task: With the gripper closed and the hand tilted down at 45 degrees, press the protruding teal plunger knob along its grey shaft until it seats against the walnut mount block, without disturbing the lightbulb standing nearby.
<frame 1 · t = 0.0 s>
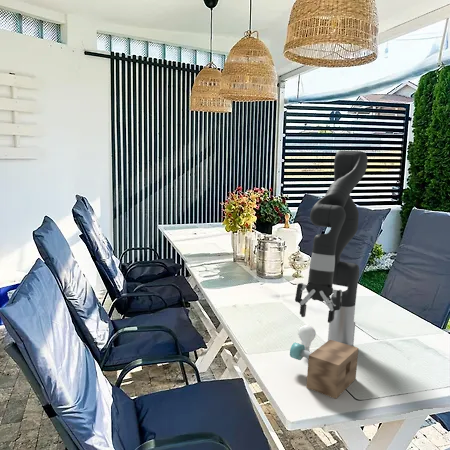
hand: (316, 319, 139), 22 cm above the table, tool pointing down, fingers open, 8 cm apart
lightbulb: (305, 353, 166), on the table
mount: (312, 376, 149), on the table
knob: (313, 356, 148), point 7 cm above the table, slide at 0.0 cm
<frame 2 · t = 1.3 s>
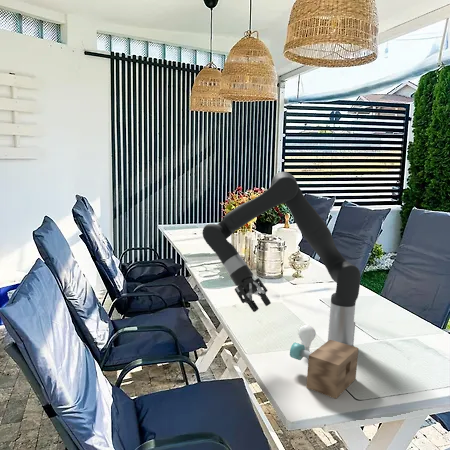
hand: (262, 307, 158), 19 cm above the table, tool tilted 45°, fingers open, 8 cm apart
nothing on the table moved.
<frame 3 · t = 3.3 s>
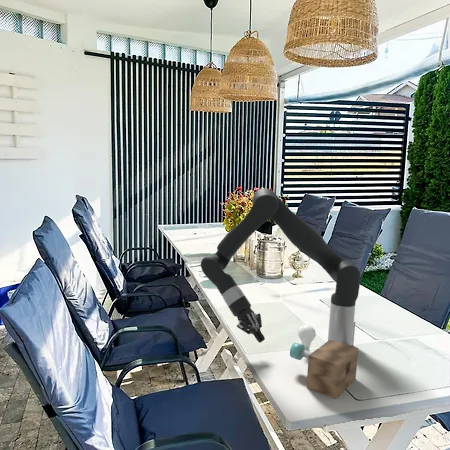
hand: (262, 341, 160), 6 cm above the table, tool tilted 45°, fingers closed
nothing on the table moved.
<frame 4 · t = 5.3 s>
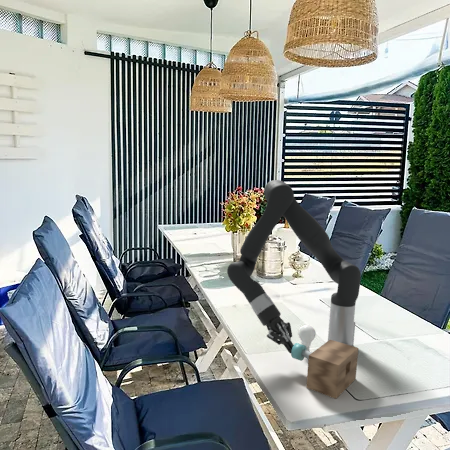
hand: (293, 351, 152), 6 cm above the table, tool tilted 45°, fingers closed
knob: (315, 357, 148), point 7 cm above the table, slide at 0.6 cm, touching gripper
everything else where it was.
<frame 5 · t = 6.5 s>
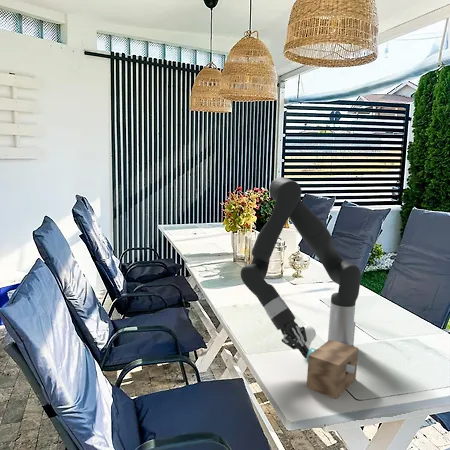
hand: (308, 356, 149), 6 cm above the table, tool tilted 45°, fingers closed
knob: (331, 362, 144), point 7 cm above the table, slide at 6.3 cm, touching gripper
everything else where it was.
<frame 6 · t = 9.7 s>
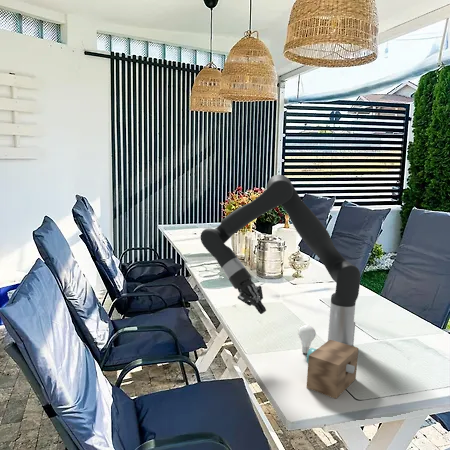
hand: (263, 312, 158), 17 cm above the table, tool tilted 45°, fingers closed
knob: (331, 362, 144), point 7 cm above the table, slide at 6.2 cm
everything else where it was.
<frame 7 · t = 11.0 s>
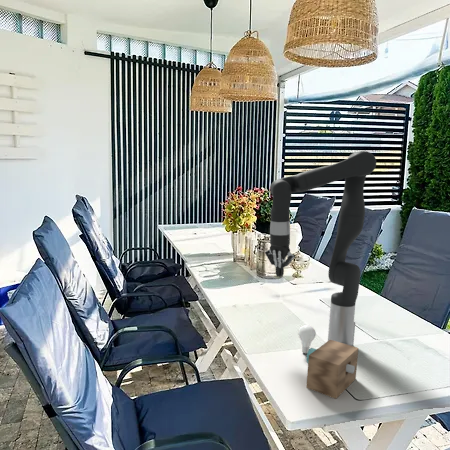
hand: (279, 276, 172), 26 cm above the table, tool pointing down, fingers closed
nothing on the table moved.
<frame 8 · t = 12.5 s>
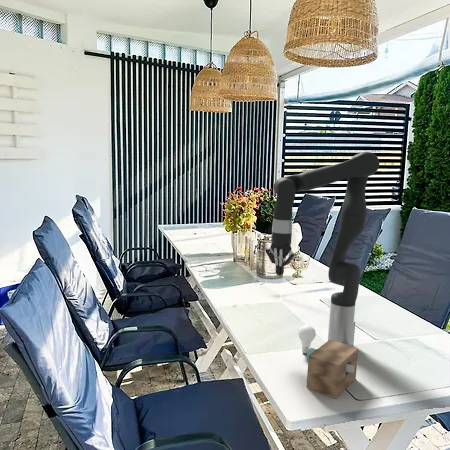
hand: (279, 274, 172), 27 cm above the table, tool pointing down, fingers closed
nothing on the table moved.
at the end: knob slide at 6.2 cm; lightbulb moved 0.2 cm from its start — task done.
